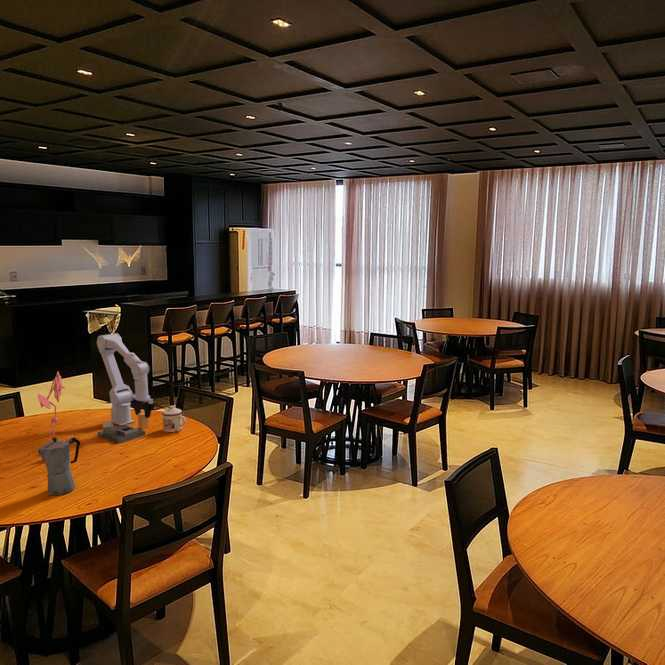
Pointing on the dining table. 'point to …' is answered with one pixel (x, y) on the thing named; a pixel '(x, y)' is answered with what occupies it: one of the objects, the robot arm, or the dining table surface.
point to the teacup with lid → (172, 419)
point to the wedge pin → (142, 421)
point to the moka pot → (59, 465)
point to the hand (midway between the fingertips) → (142, 416)
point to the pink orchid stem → (47, 403)
